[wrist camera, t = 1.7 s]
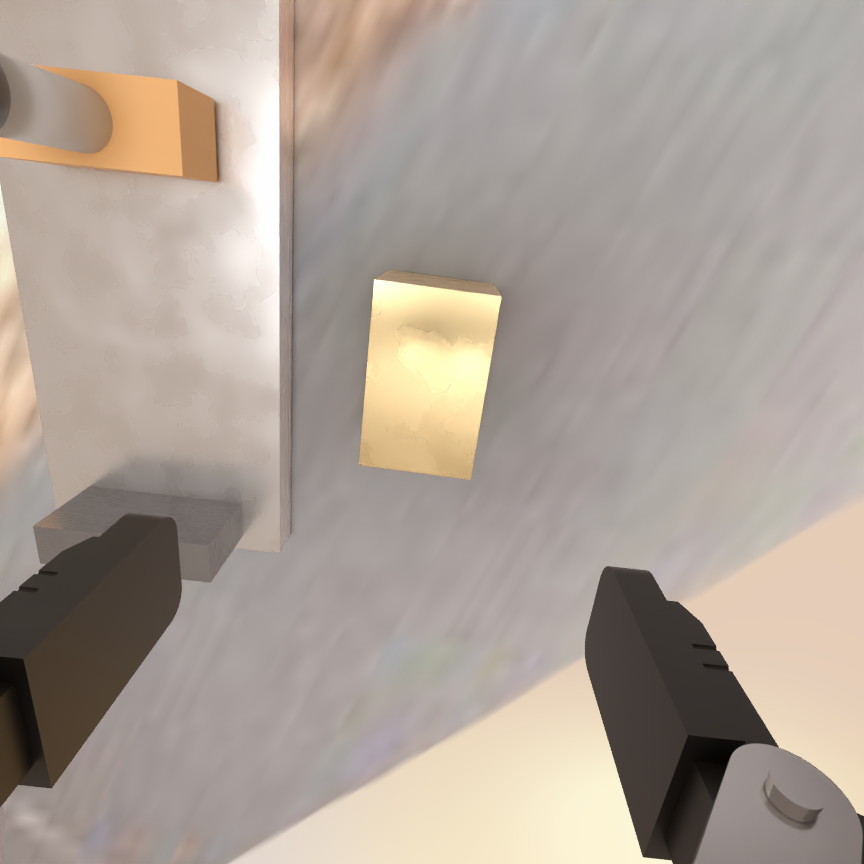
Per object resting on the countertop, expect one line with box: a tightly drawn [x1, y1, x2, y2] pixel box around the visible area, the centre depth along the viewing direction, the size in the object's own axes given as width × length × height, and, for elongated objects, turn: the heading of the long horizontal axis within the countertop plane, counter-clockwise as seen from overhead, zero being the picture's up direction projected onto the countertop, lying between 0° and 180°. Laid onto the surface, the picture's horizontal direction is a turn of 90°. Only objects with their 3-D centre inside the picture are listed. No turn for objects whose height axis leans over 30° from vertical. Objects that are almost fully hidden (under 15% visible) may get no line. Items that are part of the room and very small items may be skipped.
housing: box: [359, 270, 501, 480], centre depth 25 cm, size 8×5×5 cm, turn 173°
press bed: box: [0, 0, 294, 582], centre depth 23 cm, size 30×12×6 cm, turn 174°
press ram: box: [0, 53, 217, 182], centre depth 17 cm, size 3×7×10 cm, turn 84°
